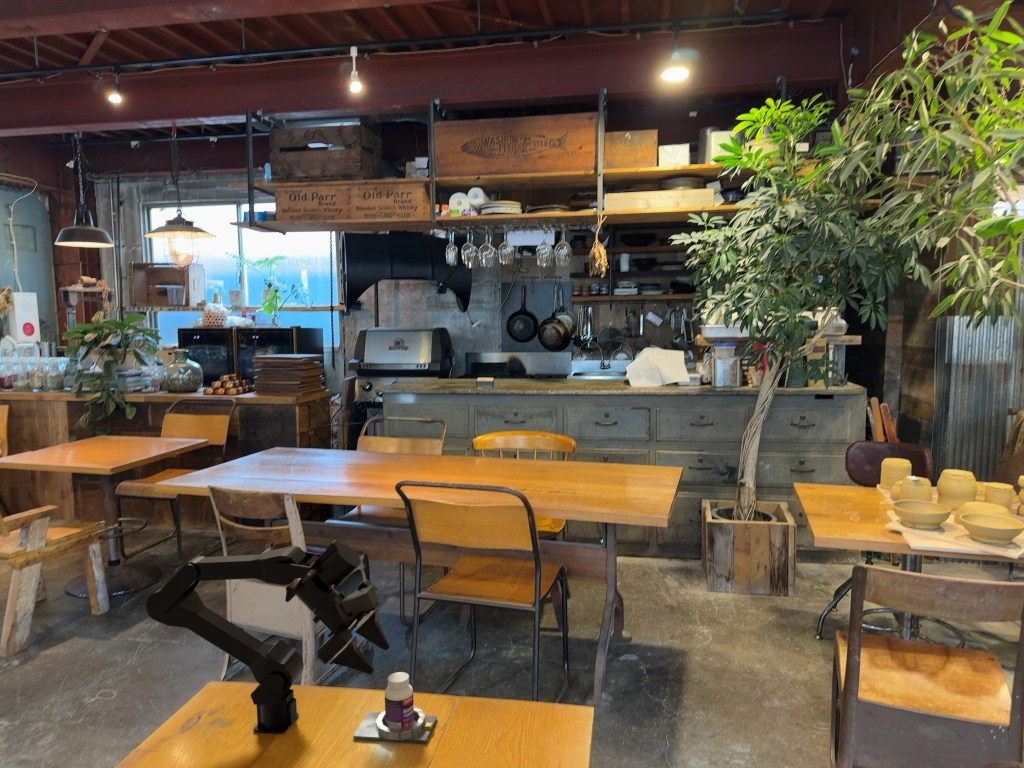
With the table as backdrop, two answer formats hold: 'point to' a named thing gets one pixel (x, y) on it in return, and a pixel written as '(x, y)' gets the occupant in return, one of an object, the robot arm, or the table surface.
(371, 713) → the plate
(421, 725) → the collar
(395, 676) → the pill bottle
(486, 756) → the table surface
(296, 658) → the robot arm
